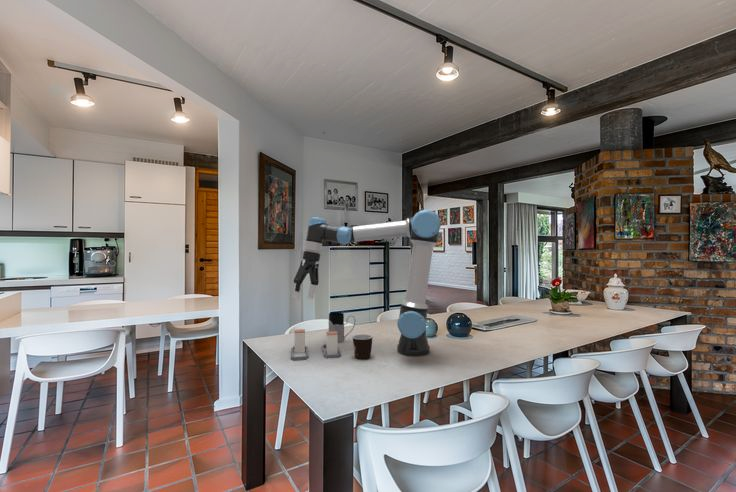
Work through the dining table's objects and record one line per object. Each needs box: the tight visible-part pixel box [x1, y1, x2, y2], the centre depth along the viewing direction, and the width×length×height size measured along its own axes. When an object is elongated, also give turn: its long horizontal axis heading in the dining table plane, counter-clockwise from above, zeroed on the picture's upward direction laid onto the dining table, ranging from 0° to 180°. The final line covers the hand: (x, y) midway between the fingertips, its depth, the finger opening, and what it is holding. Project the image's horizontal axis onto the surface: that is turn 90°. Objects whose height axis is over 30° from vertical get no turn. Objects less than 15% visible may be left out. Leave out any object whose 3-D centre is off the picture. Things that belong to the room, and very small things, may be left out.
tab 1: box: [293, 328, 306, 354], centre depth 158 cm, size 4×5×10 cm
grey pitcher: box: [328, 312, 356, 344], centre depth 176 cm, size 9×14×15 cm, turn 104°
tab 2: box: [325, 331, 339, 355], centre depth 154 cm, size 4×5×10 cm
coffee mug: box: [352, 334, 373, 361], centre depth 151 cm, size 12×9×10 cm
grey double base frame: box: [290, 343, 342, 362], centre depth 156 cm, size 18×22×2 cm
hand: (303, 299), depth 154 cm, fingers open, 13 cm apart
